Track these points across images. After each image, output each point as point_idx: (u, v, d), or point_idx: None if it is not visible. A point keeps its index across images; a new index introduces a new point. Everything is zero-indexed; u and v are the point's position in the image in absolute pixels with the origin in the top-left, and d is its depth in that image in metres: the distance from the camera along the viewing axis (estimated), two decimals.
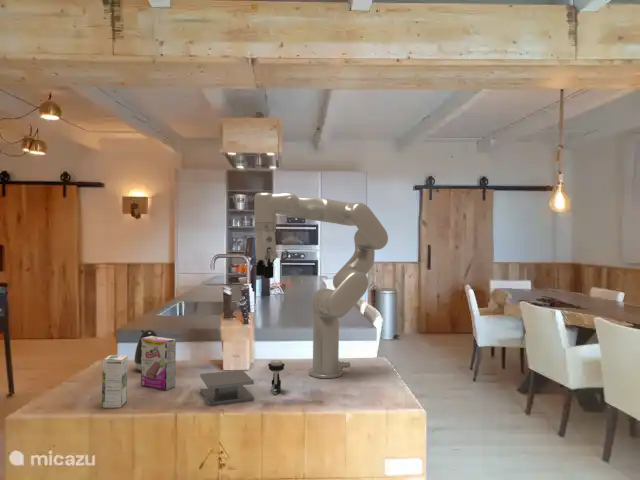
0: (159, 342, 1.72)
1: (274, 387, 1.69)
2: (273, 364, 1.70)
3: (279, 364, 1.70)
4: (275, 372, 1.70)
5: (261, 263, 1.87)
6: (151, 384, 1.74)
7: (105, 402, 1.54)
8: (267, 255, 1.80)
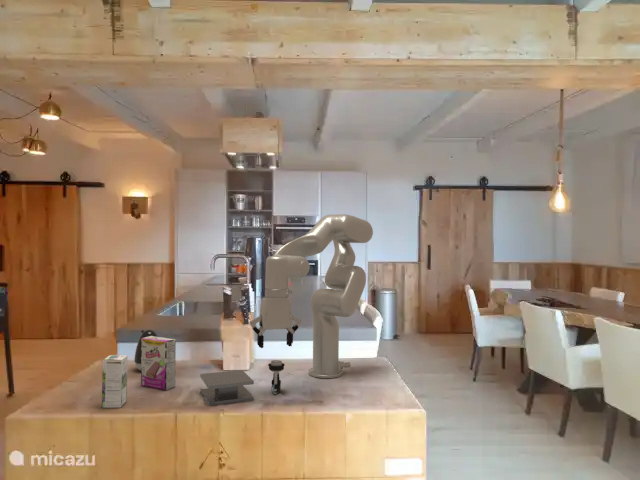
0: (159, 342, 1.72)
1: (274, 387, 1.69)
2: (273, 364, 1.70)
3: (279, 364, 1.70)
4: (275, 372, 1.70)
5: None
6: (151, 384, 1.74)
7: (105, 402, 1.54)
8: None
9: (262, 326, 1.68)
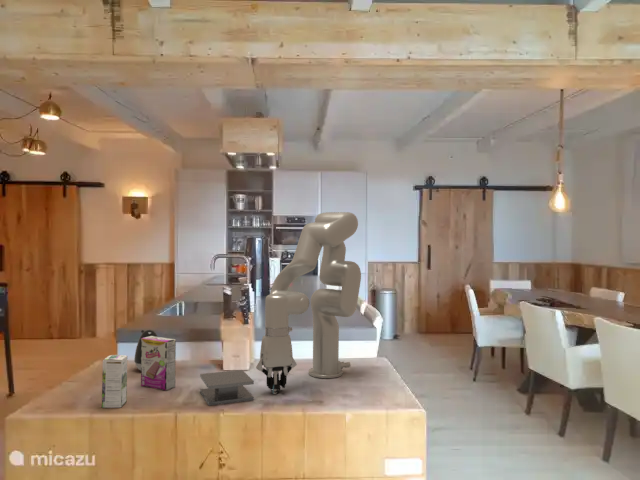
0: (159, 342, 1.72)
1: (274, 387, 1.69)
2: None
3: None
4: (275, 372, 1.70)
5: None
6: (151, 384, 1.74)
7: (105, 402, 1.54)
8: None
9: (267, 367, 1.69)
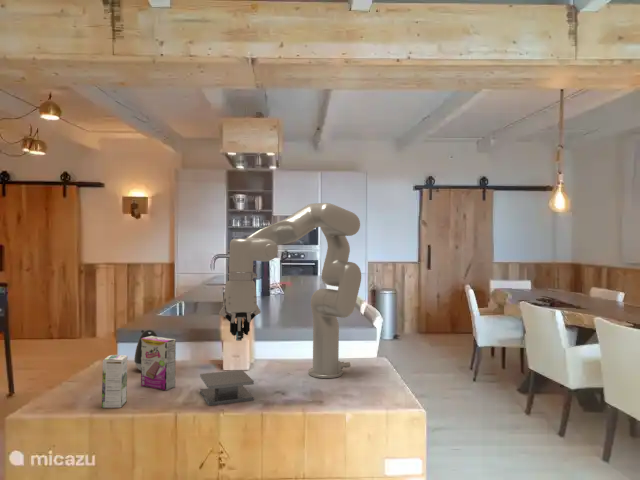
0: (159, 342, 1.72)
1: (238, 334, 1.65)
2: None
3: None
4: (239, 318, 1.66)
5: None
6: (151, 384, 1.74)
7: (105, 402, 1.54)
8: None
9: (231, 313, 1.65)
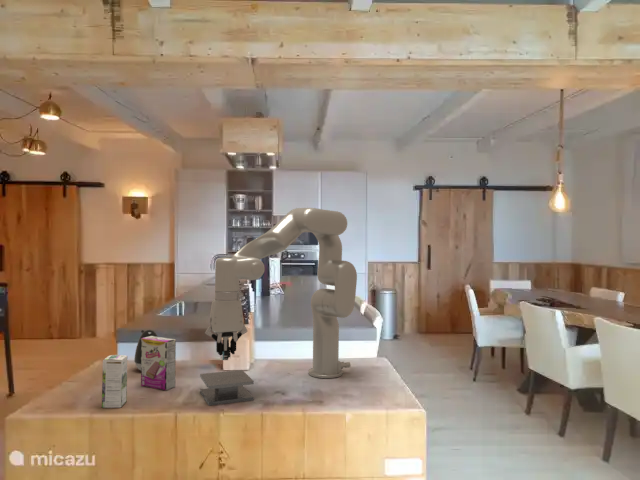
0: (159, 342, 1.72)
1: (224, 353, 1.64)
2: None
3: None
4: (225, 338, 1.65)
5: None
6: (151, 384, 1.74)
7: (105, 402, 1.54)
8: None
9: (217, 332, 1.65)
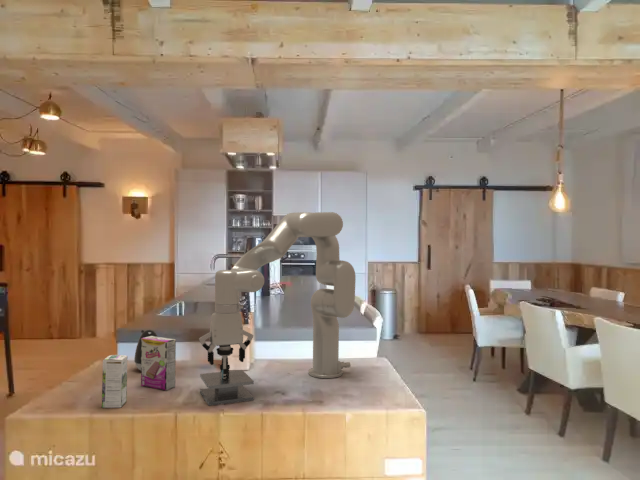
0: (159, 342, 1.72)
1: (223, 372, 1.64)
2: (222, 348, 1.65)
3: (228, 348, 1.66)
4: (224, 356, 1.65)
5: None
6: (151, 384, 1.74)
7: (105, 402, 1.54)
8: None
9: None
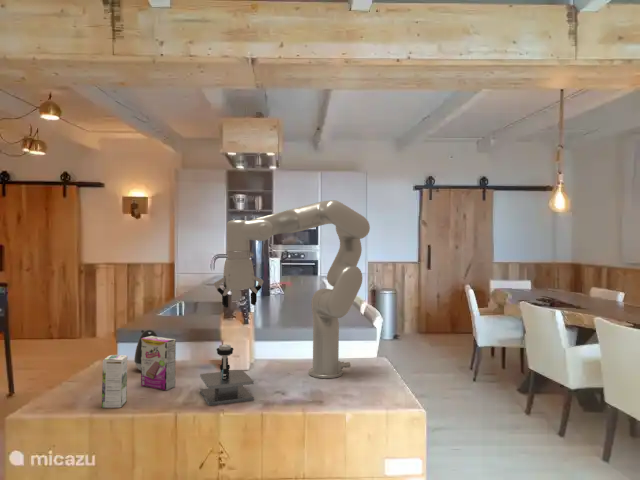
0: (159, 342, 1.72)
1: (223, 372, 1.64)
2: (222, 348, 1.65)
3: (228, 348, 1.66)
4: (224, 356, 1.65)
5: None
6: (151, 384, 1.74)
7: (105, 402, 1.54)
8: None
9: (226, 287, 1.76)
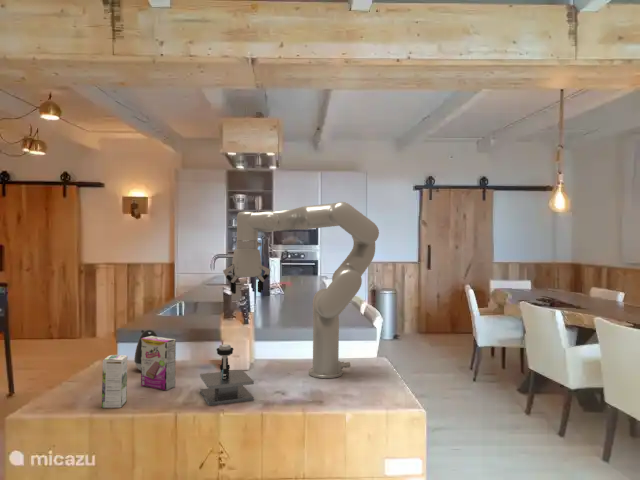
0: (159, 342, 1.72)
1: (223, 372, 1.64)
2: (222, 348, 1.65)
3: (228, 348, 1.66)
4: (224, 356, 1.65)
5: None
6: (151, 384, 1.74)
7: (105, 402, 1.54)
8: None
9: (234, 274, 1.87)
